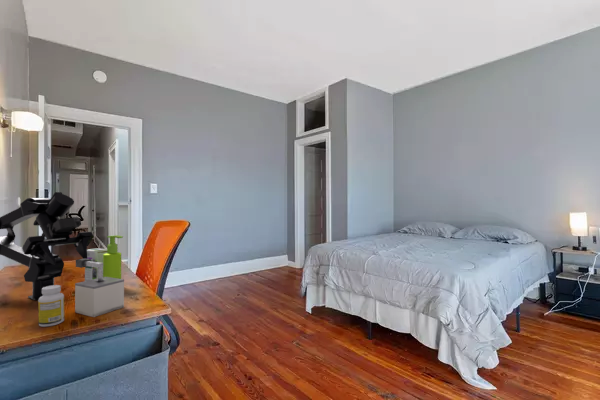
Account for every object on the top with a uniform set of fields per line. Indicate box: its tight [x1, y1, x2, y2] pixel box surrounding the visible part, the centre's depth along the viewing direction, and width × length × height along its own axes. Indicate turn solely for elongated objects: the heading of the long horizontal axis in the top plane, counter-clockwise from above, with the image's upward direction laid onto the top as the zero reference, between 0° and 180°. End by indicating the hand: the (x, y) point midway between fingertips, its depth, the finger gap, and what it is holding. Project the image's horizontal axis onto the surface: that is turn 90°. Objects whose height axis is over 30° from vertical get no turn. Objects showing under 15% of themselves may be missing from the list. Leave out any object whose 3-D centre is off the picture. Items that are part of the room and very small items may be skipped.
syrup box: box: [84, 248, 107, 281], centre depth 117 cm, size 6×6×14 cm
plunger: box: [75, 258, 103, 283], centre depth 94 cm, size 11×3×8 cm, turn 65°
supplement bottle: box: [37, 284, 65, 328], centre depth 82 cm, size 5×5×10 cm
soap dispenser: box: [103, 234, 124, 279], centre depth 115 cm, size 6×7×20 cm
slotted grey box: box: [74, 277, 125, 318], centre depth 92 cm, size 9×9×9 cm
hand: (71, 261), depth 99 cm, fingers open, 9 cm apart
